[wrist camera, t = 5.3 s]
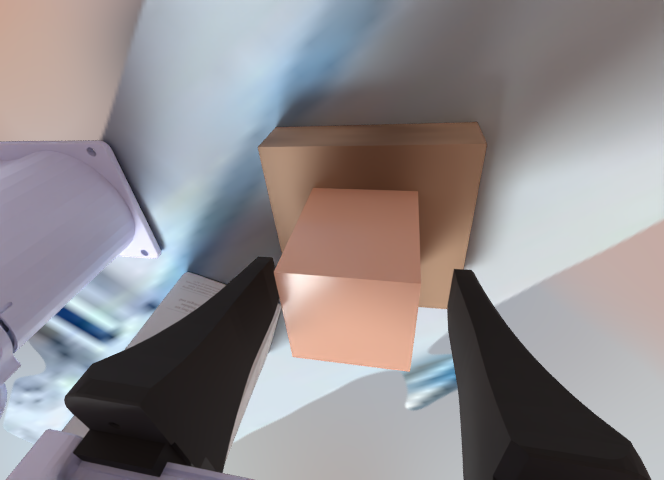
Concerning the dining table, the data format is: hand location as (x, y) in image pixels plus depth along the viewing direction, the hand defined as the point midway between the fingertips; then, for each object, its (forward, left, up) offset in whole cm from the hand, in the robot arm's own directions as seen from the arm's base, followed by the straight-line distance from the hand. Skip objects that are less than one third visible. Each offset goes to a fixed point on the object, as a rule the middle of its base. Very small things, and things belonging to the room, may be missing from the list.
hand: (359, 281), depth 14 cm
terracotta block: (0, 0, -3) cm, 3 cm away
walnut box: (0, 0, -6) cm, 6 cm away
